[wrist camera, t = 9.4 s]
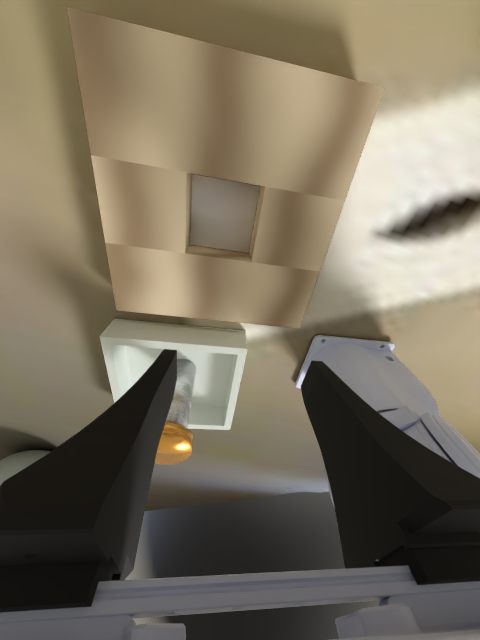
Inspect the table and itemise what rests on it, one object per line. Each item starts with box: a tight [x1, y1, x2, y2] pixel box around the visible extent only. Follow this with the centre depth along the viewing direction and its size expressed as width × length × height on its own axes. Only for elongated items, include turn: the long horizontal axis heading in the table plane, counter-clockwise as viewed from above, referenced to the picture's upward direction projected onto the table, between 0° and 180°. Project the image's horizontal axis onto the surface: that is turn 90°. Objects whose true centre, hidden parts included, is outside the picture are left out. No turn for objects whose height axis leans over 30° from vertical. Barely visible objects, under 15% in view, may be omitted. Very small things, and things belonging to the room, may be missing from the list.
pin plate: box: [67, 7, 385, 329], centre depth 16 cm, size 16×16×2 cm
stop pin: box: [155, 359, 196, 464], centre depth 21 cm, size 4×4×9 cm
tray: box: [100, 318, 248, 430], centre depth 24 cm, size 13×13×3 cm
